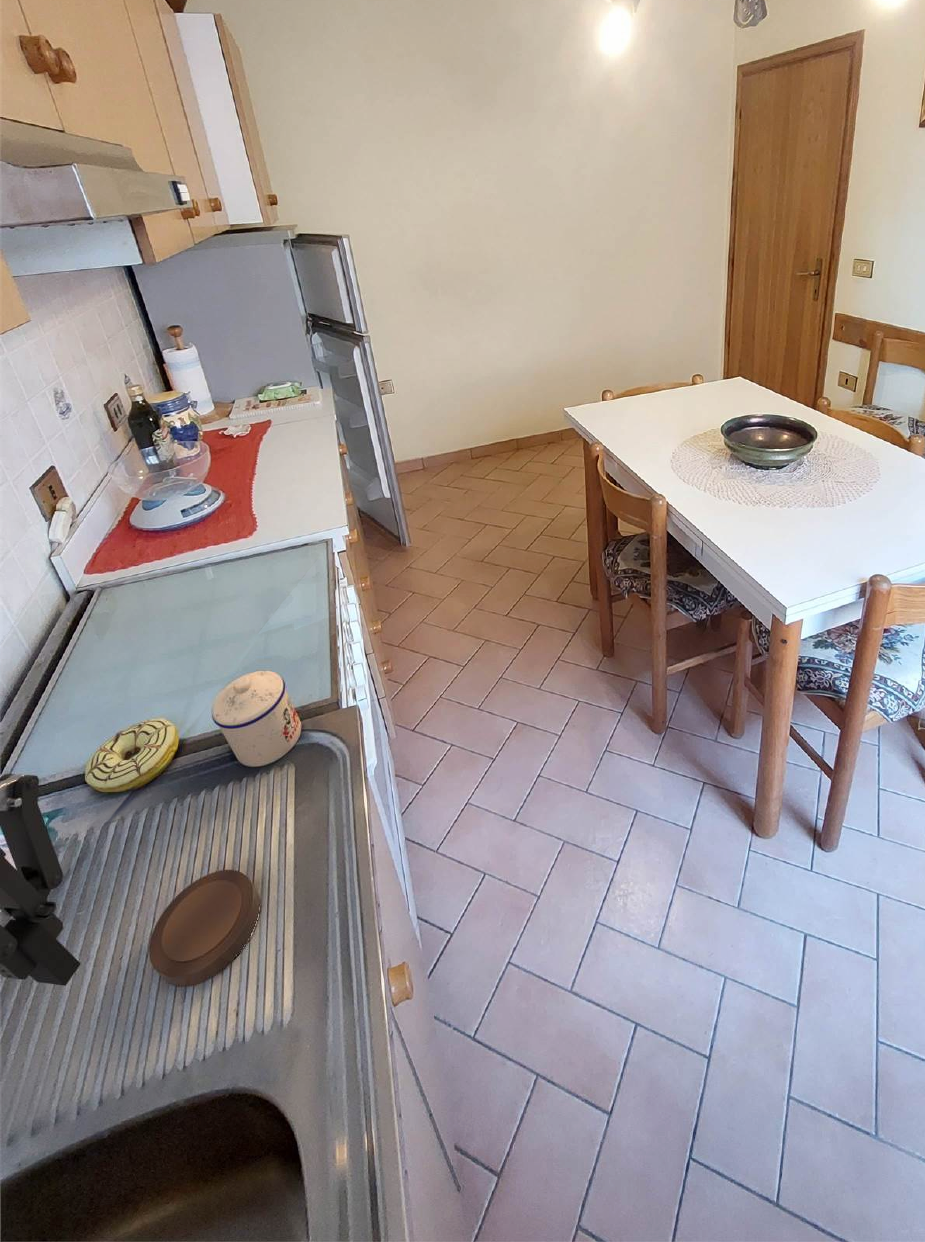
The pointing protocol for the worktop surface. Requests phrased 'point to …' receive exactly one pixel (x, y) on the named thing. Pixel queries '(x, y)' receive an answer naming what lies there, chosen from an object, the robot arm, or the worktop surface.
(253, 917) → the plate
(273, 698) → the teacup with lid
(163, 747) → the decorated donut
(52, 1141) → the worktop surface
